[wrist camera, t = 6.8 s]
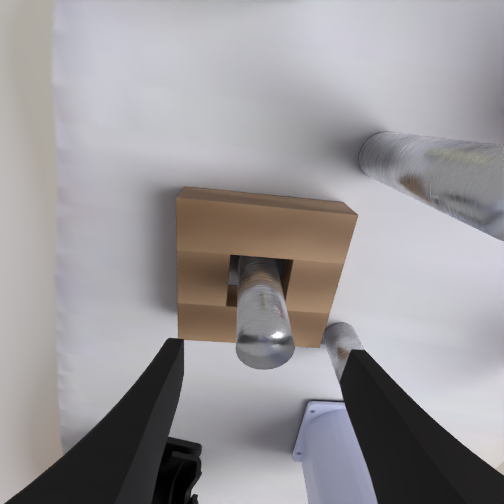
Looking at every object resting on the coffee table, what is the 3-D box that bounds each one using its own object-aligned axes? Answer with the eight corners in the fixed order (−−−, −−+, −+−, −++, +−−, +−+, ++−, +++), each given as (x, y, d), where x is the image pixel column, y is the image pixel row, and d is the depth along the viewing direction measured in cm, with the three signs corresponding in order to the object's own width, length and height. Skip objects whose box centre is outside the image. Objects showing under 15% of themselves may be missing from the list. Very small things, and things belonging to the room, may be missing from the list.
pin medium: (272, 279, 20) (288, 371, 13) (236, 275, 20) (232, 367, 13) (278, 247, 19) (300, 328, 12) (240, 243, 19) (239, 323, 11)
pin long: (394, 179, 17) (546, 244, 8) (353, 175, 17) (467, 237, 8) (409, 134, 16) (603, 156, 7) (365, 129, 16) (513, 145, 7)
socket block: (311, 323, 22) (319, 347, 20) (184, 315, 21) (178, 339, 19) (343, 202, 17) (358, 215, 15) (184, 186, 17) (175, 197, 15)
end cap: (97, 460, 30) (60, 548, 24) (112, 422, 27) (74, 511, 21) (185, 477, 32) (172, 562, 26) (208, 444, 29) (198, 531, 23)
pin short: (350, 347, 23) (375, 403, 19) (320, 345, 23) (338, 401, 19) (358, 323, 22) (387, 377, 18) (327, 321, 22) (348, 374, 17)
